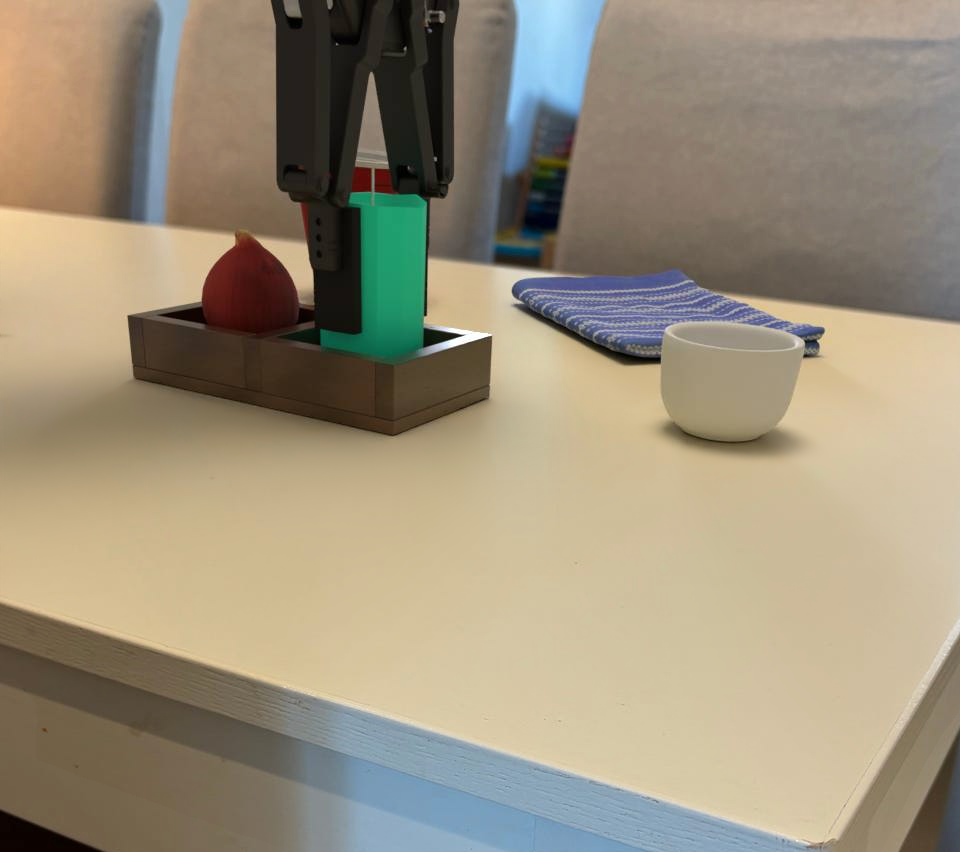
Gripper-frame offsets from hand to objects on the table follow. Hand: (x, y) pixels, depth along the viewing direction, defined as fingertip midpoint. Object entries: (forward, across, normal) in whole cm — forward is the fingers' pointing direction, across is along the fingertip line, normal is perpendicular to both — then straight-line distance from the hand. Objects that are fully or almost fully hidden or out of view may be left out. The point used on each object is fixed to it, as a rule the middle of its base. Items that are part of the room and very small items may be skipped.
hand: (372, 321), depth 64 cm
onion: (+4, 0, +9) cm, 10 cm away
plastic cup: (+5, +26, +21) cm, 34 cm away
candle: (+4, 0, 0) cm, 4 cm away
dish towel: (+5, +33, -4) cm, 34 cm away
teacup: (+5, +8, -18) cm, 21 cm away
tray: (+5, 0, +5) cm, 7 cm away
